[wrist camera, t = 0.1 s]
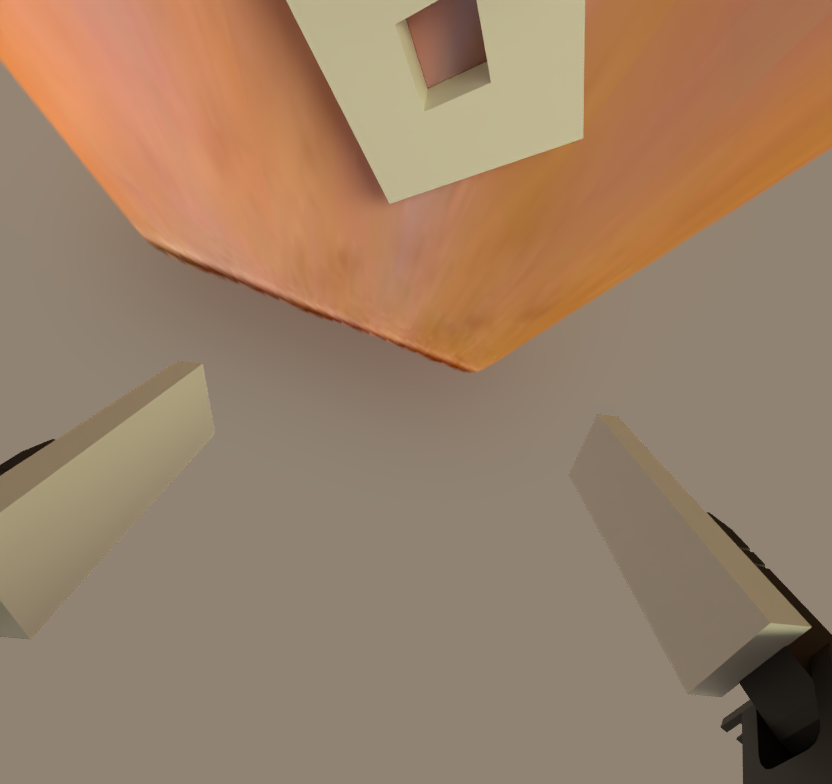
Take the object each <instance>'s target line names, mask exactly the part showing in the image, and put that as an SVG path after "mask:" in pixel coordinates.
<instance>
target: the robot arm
mask: <svg viewBox="0 0 832 784" xmlns="http://www.w3.org/2000/svg"><path fill="white" fill-rule="evenodd" d="M214 434H215V429H214V424H213V418H212V413H211V407H210V401H209V396H208V390H207V385H206V379H205V374H204V368H203V364H201V363H194V362H186V361H177V362H175V363H174V364H172V365H170V366H169V367H168V368H166V369H164V370H163V371H161V372H160V373H158V374H157V375H155V376H154V377H152V378H150V379H149V380H147V381H146V382H144V383H143V384H141V385H140V386H138V387H137V388H135V389H134V390H132V391H131V392H129V393H127V394H126V395H124V396H123V397H121V398H120V399H118V400H116V401H115V402H113V403H112V404H110V405H109V406H107V407H106V408H104V409H103V410H101V411H100V412H98V413H96V414H95V415H93V416H92V417H90V418H89V419H87V420H86V421H84V422H83V423H81V424H80V425H78V426H76V427H75V428H73V429H72V430H70V431H69V432H67V433H66V434H64V435H63V436H61V437H59V438H58V439H56V440H54V439H52V440H49V441H47V442H44V443H42V444H39V445H37V446H34V447H32V448H30V449H28V450H25V451H22V452H21V453H19V454H17V455H16V456H14V457H12V458H11V459H9V460H8V461H6V462H5V463H3V464H1V465H0V637H8V638H20V639H31V638H32V637H33V636H34V635H35V634H36V633H37V631H38V630H39V629H40V628H41V627H42V626H43V625H44V624H45V623H46V622H47V621H48V619H49V618H50V617H51V616H52V615H53V614H54V613H55V611H56V610H57V609H58V608H59V607H60V606H61V605H62V604H63V603H64V601H65V600H66V599H67V598H68V597H69V596H70V595H71V594H72V592H73V591H74V590H75V589H76V588H77V587H78V586H79V585H80V584H81V583H82V581H83V580H84V579H85V578H86V577H87V576H88V575H89V573H90V572H91V571H92V570H93V569H94V568H95V567H96V566H97V565H98V564H99V562H100V561H101V560H102V559H103V558H104V557H105V556H106V554H107V553H108V552H109V551H110V550H111V549H112V548H113V547H114V545H115V544H116V543H117V542H118V541H119V540H120V539H121V538H122V537H123V536H124V535H125V533H126V532H127V531H128V530H129V529H130V528H131V527H132V526H133V524H134V523H135V522H136V521H137V520H138V519H139V518H140V517H141V516H142V514H143V513H144V512H145V511H146V510H147V509H148V508H149V507H150V506H151V504H152V503H153V502H154V501H155V500H156V499H157V498H158V497H159V495H160V494H161V493H162V492H163V491H164V490H165V489H166V488H167V486H168V485H169V484H170V483H171V482H172V481H173V480H174V479H175V478H176V476H177V475H178V474H179V473H180V472H181V471H182V470H183V469H184V467H185V466H186V465H187V464H188V463H189V462H190V461H191V460H192V459H193V457H194V456H195V455H196V454H197V453H198V452H199V451H200V450H201V448H202V447H203V446H204V445H205V444H206V443H207V442H208V441H209V439H211V437H212V436H213V435H214ZM569 476H570V478H571V480H572V482H573V484H574V485H575V487H576V489H577V491H578V493H579V495H580V496H581V498H582V500H583V502H584V504H585V506H586V508H587V509H588V511H589V513H590V515H591V517H592V518H593V521H594V523H595V524H596V526H597V528H598V530H599V532H600V534H601V535H602V537H603V539H604V541H605V543H606V545H607V547H608V548H609V550H610V552H611V554H612V556H613V558H614V560H615V561H616V563H617V565H618V567H619V569H620V571H621V572H622V574H623V576H624V578H625V580H626V582H627V584H628V585H629V587H630V589H631V591H632V593H633V595H634V596H635V598H636V600H637V602H638V604H639V606H640V607H641V609H642V611H643V613H644V615H645V617H646V619H647V621H648V622H649V624H650V626H651V628H652V630H653V632H654V634H655V635H656V637H657V639H658V641H659V643H660V645H661V646H662V648H663V650H664V652H665V654H666V656H667V658H668V659H669V661H670V663H671V665H672V667H673V669H674V671H675V672H676V674H677V676H678V678H679V680H680V682H681V683H682V685H683V687H684V689H685V691H686V693H687V694H691V695H703V696H715V697H722V696H724V695H725V694H726V693H727V692H729V691H730V690H731V689H733V688H734V687H735V686H737V685H738V684H739V683H740V685H741V686H742V688H743V689H744V691H745V692H746V693H747V695H748V697H749V698H750V700H749V701H747V702H746V703H745V704H743V705H742V706H741V707H739V708H738V709H736V710H735V711H734V712H732V713H731V714H729V715H728V716H727V717H725V718H724V719H723V722H722V725H721V728H722V729H724V730H725V731H726V732H728V731H729V730H731V729H733V728H734V727H735V726H737V725H738V724H740V723H741V724H742V734H741V735H740V736H738V737H737V740H738V741H739V742H741V743H742V744H743V784H832V635H831V634H830V633H829V631H828V630H827V629H826V628H825V627H824V626H823V625H822V624H821V623H820V622H819V621H818V620H817V619H816V618H815V617H814V616H813V615H812V614H811V613H810V612H809V610H808V609H807V608H806V607H805V606H804V605H803V604H802V603H801V602H800V601H799V600H798V599H797V598H796V597H795V596H794V595H793V594H792V593H791V592H790V590H789V589H788V588H787V587H786V586H785V585H784V584H783V583H782V582H781V581H780V580H779V579H778V578H777V577H776V576H775V575H774V574H773V573H772V571H771V570H770V569H766V568H765V564H764V563H763V562H762V561H761V560H760V559H759V558H758V557H757V556H756V555H755V554H754V552H750V551H749V547H748V546H747V545H746V544H745V543H744V542H743V541H742V540H741V539H740V538H739V537H738V536H737V535H736V534H735V532H733V530H732V529H730V528H729V527H727V526H726V525H725V524H724V523H722V522H721V521H719V520H718V519H717V518H716V517H714V516H713V515H712V514H710V513H708V512H706V511H705V510H704V509H703V508H702V507H701V506H700V505H699V504H698V503H697V501H696V500H695V499H693V497H692V496H691V495H690V494H689V493H688V492H687V491H686V490H685V489H684V487H683V486H682V485H681V484H680V483H679V482H678V481H677V480H676V479H675V478H674V477H673V476H672V474H671V473H670V472H669V471H668V470H667V469H666V468H665V467H664V466H663V465H662V464H661V463H660V461H659V460H658V459H657V458H656V457H655V456H654V455H653V454H652V453H651V452H650V451H649V449H648V448H647V447H646V446H645V445H644V444H643V443H642V442H641V441H640V440H639V438H638V437H637V436H636V435H635V434H634V433H633V432H632V431H631V430H630V429H629V428H628V427H627V425H626V424H625V423H624V422H623V421H622V420H621V419H620V418H619V417H616V416H609V415H601V414H597V415H596V417H595V419H594V422H593V424H592V426H591V428H590V430H589V432H588V434H587V437H586V439H585V441H584V443H583V445H582V447H581V450H580V452H579V454H578V456H577V458H576V460H575V462H574V464H573V466H572V469H571V471H570V473H569Z"/></svg>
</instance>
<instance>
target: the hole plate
mask: <svg viewBox="0 0 832 784" xmlns="http://www.w3.org/2000/svg"><path fill="white" fill-rule="evenodd" d="M286 1H287V3H288V5H289V7H290V9H291V11H292V13H293V15H294V17H295V19H296V21H297V23H298V25H299V27H300V29H301V31H302V33H303V35H304V37H305V39H306V41H307V43H308V45H309V47H310V49H311V51H312V52H313V54H314V56H315V58H316V60H317V62H318V64H319V66H320V68H321V70H322V72H323V74H324V76H325V78H326V80H327V82H328V84H329V86H330V88H331V90H332V92H333V94H334V96H335V98H336V100H337V102H338V104H339V106H340V107H341V109H342V111H343V113H344V115H345V117H346V119H347V121H348V123H349V125H350V127H351V129H352V131H353V133H354V135H355V137H356V139H357V141H358V143H359V145H360V147H361V149H362V151H363V153H364V155H365V157H366V159H367V161H368V163H369V164H370V166H371V168H372V170H373V172H374V174H375V176H376V178H377V180H378V182H379V184H380V186H381V188H382V190H383V192H384V194H385V196H386V198H387V200H388V202H389V204H391V203H394V202H396V201H399V200H402V199H405V198H408V197H411V196H414V195H417V194H420V193H423V192H426V191H429V190H432V189H435V188H438V187H441V186H444V185H447V184H450V183H453V182H456V181H459V180H462V179H464V178H467V177H470V176H473V175H476V174H479V173H482V172H485V171H488V170H491V169H494V168H497V167H500V166H503V165H506V164H509V163H512V162H515V161H518V160H521V159H524V158H527V157H529V156H532V155H535V154H538V153H541V152H544V151H547V150H550V149H553V148H556V147H559V146H562V145H565V144H568V143H571V142H574V141H577V140H580V139H583V108H584V34H585V0H477V6H478V12H479V17H480V23H481V29H482V34H483V40H484V46H485V51H486V57H487V62H484V63H482V64H480V65H478V66H476V67H474V68H471V69H469V70H467V71H465V72H463V73H461V74H458V75H456V76H454V77H452V78H450V79H448V80H445V81H443V82H441V83H439V84H437V85H435V86H432V87H430V88H428V89H427V86H426V82H425V79H424V76H423V73H422V70H421V66H420V63H419V60H418V57H417V53H416V50H415V47H414V44H413V40H412V37H411V34H410V31H409V28H408V24H407V21H406V18H408V17H409V16H411V15H413V14H415V13H416V12H418V11H420V10H422V9H424V8H425V7H427V6H429V5H431V4H432V3H434V2H436V1H438V0H286Z"/></svg>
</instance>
